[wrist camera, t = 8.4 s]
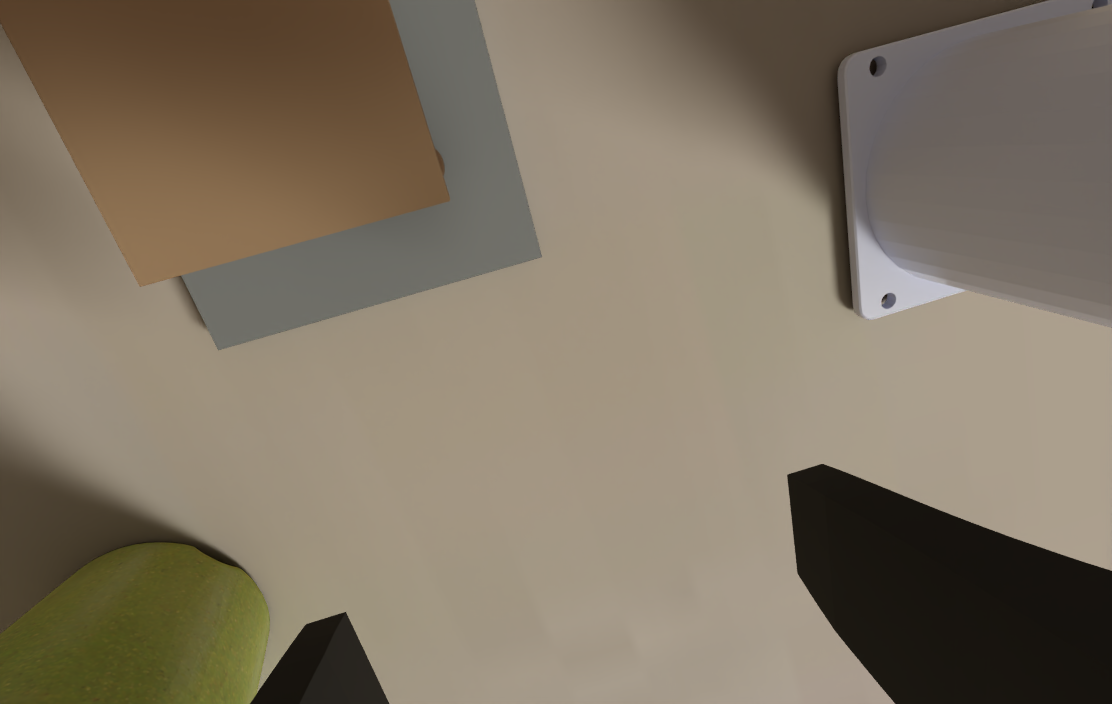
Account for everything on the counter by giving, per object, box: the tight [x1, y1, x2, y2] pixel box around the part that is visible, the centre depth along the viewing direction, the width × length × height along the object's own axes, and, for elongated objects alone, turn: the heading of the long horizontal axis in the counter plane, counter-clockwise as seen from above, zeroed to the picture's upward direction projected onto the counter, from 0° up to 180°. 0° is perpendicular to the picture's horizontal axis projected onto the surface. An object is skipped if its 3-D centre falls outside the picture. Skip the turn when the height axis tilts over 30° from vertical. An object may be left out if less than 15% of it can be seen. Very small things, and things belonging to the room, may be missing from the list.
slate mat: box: [181, 0, 542, 350], centre depth 14 cm, size 9×12×1 cm
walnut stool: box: [0, 0, 450, 287], centre depth 11 cm, size 6×5×6 cm
